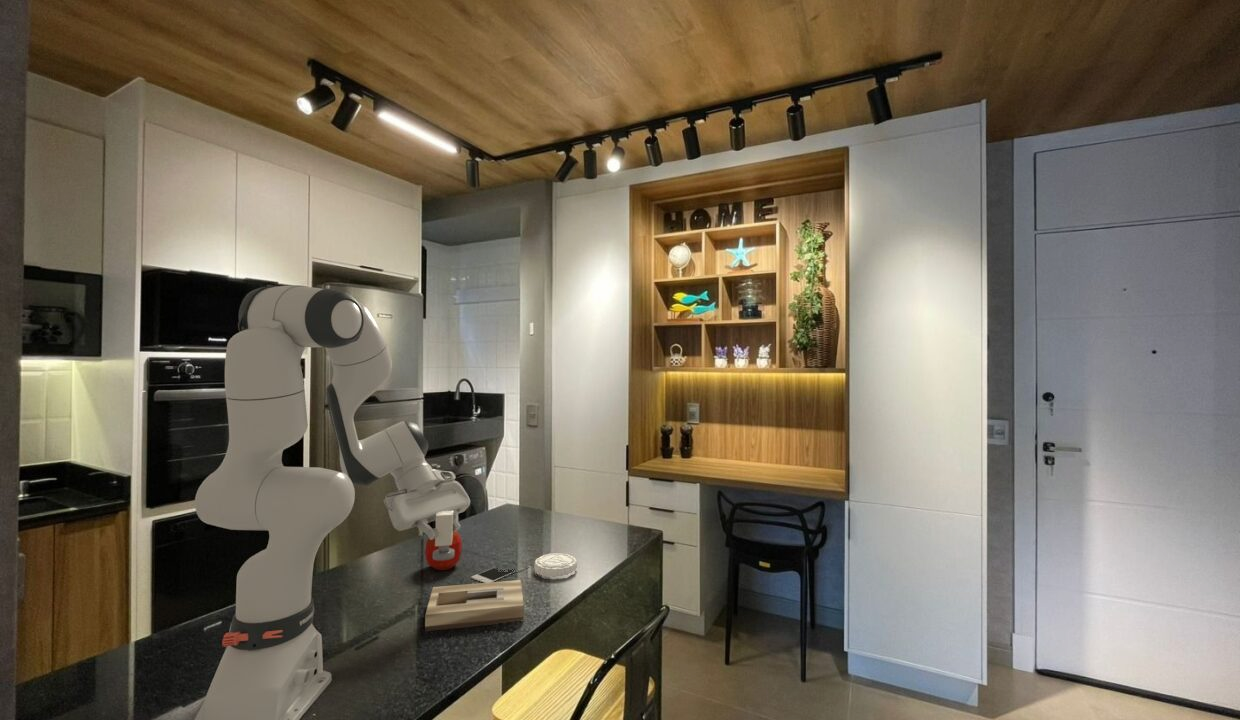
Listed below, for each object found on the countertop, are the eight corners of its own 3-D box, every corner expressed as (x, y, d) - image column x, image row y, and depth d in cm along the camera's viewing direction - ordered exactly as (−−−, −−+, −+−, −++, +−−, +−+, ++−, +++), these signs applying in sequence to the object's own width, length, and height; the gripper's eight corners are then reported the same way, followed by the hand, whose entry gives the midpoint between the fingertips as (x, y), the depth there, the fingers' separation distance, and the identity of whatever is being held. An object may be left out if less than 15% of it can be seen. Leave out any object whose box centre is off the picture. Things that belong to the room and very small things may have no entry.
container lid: (558, 584, 135) (558, 570, 135) (525, 574, 141) (525, 561, 141) (585, 569, 145) (585, 557, 145) (553, 560, 151) (553, 548, 151)
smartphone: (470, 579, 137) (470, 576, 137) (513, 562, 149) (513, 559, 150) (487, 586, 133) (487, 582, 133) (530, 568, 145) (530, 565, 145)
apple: (443, 558, 151) (444, 519, 151) (469, 564, 146) (470, 524, 147) (416, 570, 142) (417, 528, 142) (443, 577, 137) (444, 534, 138)
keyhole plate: (523, 621, 114) (523, 605, 114) (424, 631, 109) (425, 614, 109) (520, 594, 128) (520, 579, 128) (432, 602, 123) (433, 587, 123)
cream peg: (453, 559, 116) (454, 515, 116) (431, 561, 115) (432, 516, 115) (455, 552, 121) (456, 509, 121) (433, 553, 120) (434, 510, 120)
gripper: (387, 486, 113) (414, 538, 108) (458, 471, 130) (485, 515, 125) (374, 503, 115) (400, 555, 110) (446, 486, 133) (471, 530, 127)
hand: (446, 533), depth 118 cm, fingers closed on cream peg, 5 cm apart
